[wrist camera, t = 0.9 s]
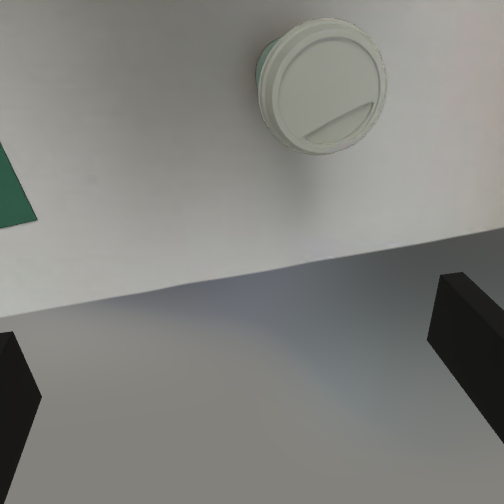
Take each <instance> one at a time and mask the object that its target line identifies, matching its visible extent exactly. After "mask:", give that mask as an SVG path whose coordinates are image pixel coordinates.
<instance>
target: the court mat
mask: <svg viewBox="0 0 504 504" xmlns="http://www.w3.org/2000/svg"><path fill="white" fill-rule="evenodd" d="M36 220H37V218H36V216H35V214H34V212H33V210H32V208H31V205H30V203H29V201H28V199H27V197H26V195H25V193H24V191H23V189H22V187H21V185H20V183H19V181H18V179H17V177H16V175H15V172H14V170H13V168H12V166H11V164H10V162H9V160H8V158H7V156H6V154H5V152H4V150H3V148H2V146H1V144H0V228H4V227H9V226H13V225H18V224H22V223H27V222H31V221H36Z"/></svg>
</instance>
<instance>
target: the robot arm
mask: <svg viewBox="0 0 504 504" xmlns="http://www.w3.org/2000/svg"><path fill="white" fill-rule="evenodd" d="M427 341H428V342H429V343H430V345H431V346H432V348H433V349H434V350H435V352H436V353H437V354H438V356H439V357H440V358H441V360H442V361H443V362H444V364H445V365H446V366H447V368H448V369H449V370H450V372H451V373H452V374H453V376H454V377H455V379H456V380H457V381H458V383H459V384H460V385H461V387H462V388H463V389H464V391H465V392H466V393H467V395H468V396H469V397H470V399H471V400H472V402H473V403H474V404H475V406H476V407H477V408H478V410H479V411H480V412H481V414H482V415H483V416H484V418H485V419H486V420H487V422H488V423H489V424H490V426H491V427H492V429H493V430H494V431H495V433H496V434H497V435H498V436H499V438H500V439H501V441H502V442H503V443H504V310H503V309H502V308H500V307H499V306H498V305H497V304H496V303H495V302H494V301H493V300H492V299H491V298H490V297H489V296H488V295H487V294H486V293H485V292H483V291H482V290H481V289H480V288H479V287H478V286H477V285H476V284H475V283H474V282H473V281H472V280H471V279H469V277H467V276H466V275H465V274H464V273H463V272H460V273H451V274H444V275H440V279H439V283H438V288H437V293H436V298H435V303H434V308H433V313H432V318H431V322H430V327H429V332H428V337H427ZM41 398H42V396H41V394H40V391H39V389H38V387H37V385H36V383H35V380H34V378H33V376H32V373H31V372H30V369H29V367H28V364H27V362H26V360H25V358H24V355H23V353H22V351H21V348H20V346H19V344H18V342H17V340H16V337H15V335H14V333H13V331H12V332H5V333H0V504H4V502H5V499H6V496H7V494H8V490H9V488H10V485H11V482H12V480H13V477H14V474H15V471H16V468H17V465H18V463H19V460H20V457H21V454H22V451H23V449H24V446H25V443H26V440H27V437H28V435H29V431H30V429H31V426H32V423H33V420H34V417H35V415H36V412H37V409H38V406H39V404H40V401H41Z"/></svg>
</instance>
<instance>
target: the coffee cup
mask: <svg viewBox="0 0 504 504" xmlns="http://www.w3.org/2000/svg"><path fill="white" fill-rule="evenodd" d="M255 75H256V83H257V87H258V99H259V106H260V111H261V114H262V117H263V120H264V122H265V124H266V126H267V128H268V129H269V131H270V132H271V133H272V135H273V136H274V137H275V138H276V139H277V140H278V141H279V142H281V143H282V144H283V145H285V146H286V147H288V148H290V149H292V150H294V151H297V152H300V153H303V154H309V155H326V154H331V153H334V152H338V151H341V150H344V149H346V148H348V147H350V146H352V145H354V144H355V143H356V142H358V141H359V140H360V139H362V138H363V137H364V136H365V135H366V134H367V133H368V132H369V131H370V129H371V128H372V127H373V125H374V124H375V122H376V120H377V119H378V117H379V115H380V113H381V110H382V108H383V105H384V101H385V96H386V87H387V81H386V72H385V68H384V64H383V60H382V57H381V55H380V52H379V50H378V48H377V47H376V45H375V44H374V42H373V41H372V40H371V38H370V37H369V36H368V35H367V34H366V33H365V32H363V31H362V30H361V29H359V28H358V27H357V26H355V25H353V24H351V23H349V22H347V21H344V20H341V19H336V18H318V19H313V20H309V21H306V22H304V23H302V24H300V25H298V26H296V27H294V28H293V29H291V30H290V31H288V32H287V33H286V34H285V35H284V36H283V37H281V38H279V39H276V40H275V41H273V42H271V43H270V44H269V45H268V46H267V47H266V48H265V49H264V50H263V52H262V53H261V55H260V57H259V59H258V62H257V65H256V74H255Z"/></svg>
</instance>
